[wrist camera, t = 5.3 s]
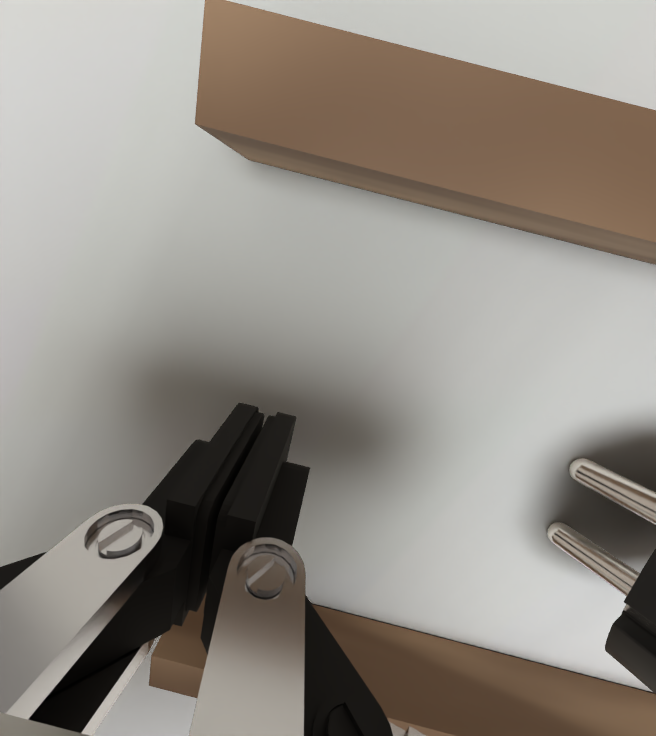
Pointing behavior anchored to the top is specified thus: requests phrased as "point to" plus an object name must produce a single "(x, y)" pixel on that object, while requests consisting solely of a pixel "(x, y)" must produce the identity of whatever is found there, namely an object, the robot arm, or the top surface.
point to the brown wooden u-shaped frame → (458, 195)
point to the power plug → (619, 570)
